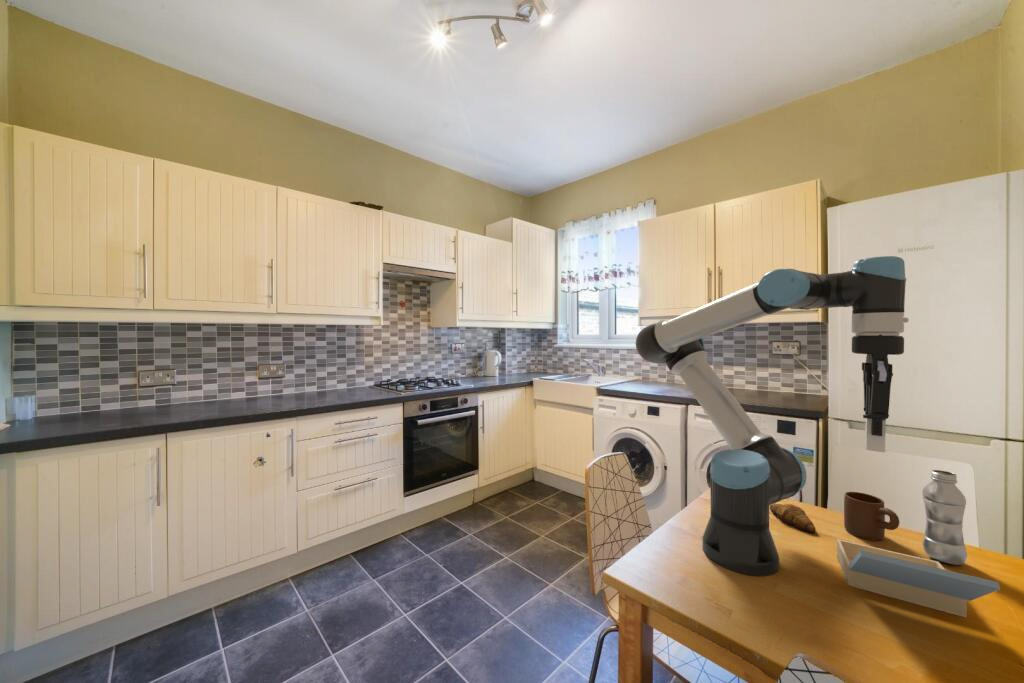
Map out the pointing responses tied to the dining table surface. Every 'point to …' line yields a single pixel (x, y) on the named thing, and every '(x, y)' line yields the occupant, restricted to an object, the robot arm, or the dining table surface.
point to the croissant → (793, 516)
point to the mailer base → (895, 589)
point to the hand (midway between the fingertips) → (874, 450)
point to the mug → (867, 516)
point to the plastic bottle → (944, 519)
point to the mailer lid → (922, 576)
